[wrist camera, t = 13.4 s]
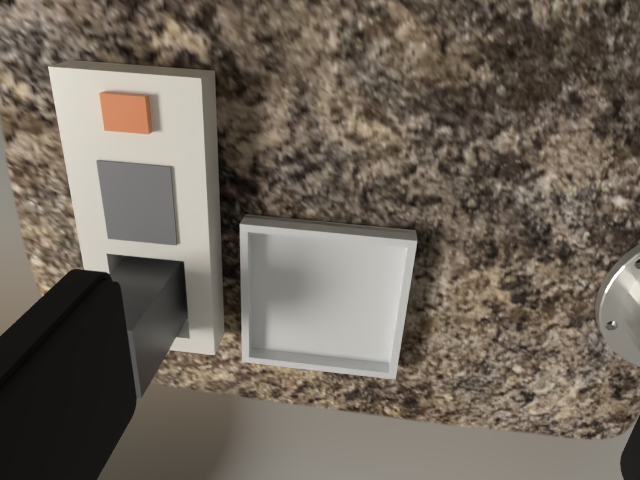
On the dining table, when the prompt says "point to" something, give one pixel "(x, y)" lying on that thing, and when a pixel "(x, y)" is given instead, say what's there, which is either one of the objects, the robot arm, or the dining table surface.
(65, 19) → the dining table surface
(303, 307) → the tray
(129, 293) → the plug
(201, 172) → the power strip
